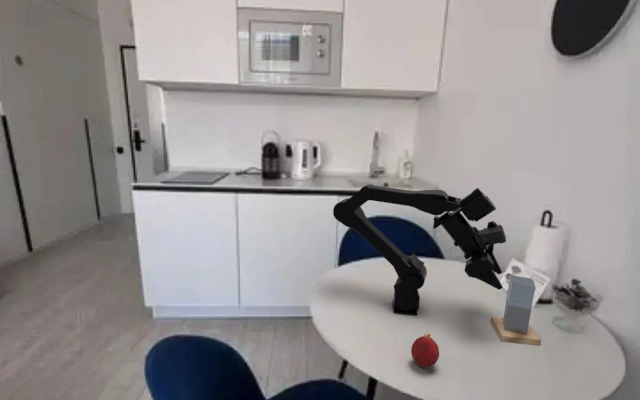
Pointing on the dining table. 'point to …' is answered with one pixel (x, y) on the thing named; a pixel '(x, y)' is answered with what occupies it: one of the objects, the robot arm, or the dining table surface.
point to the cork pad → (514, 337)
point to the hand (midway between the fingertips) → (500, 280)
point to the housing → (518, 304)
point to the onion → (425, 351)
